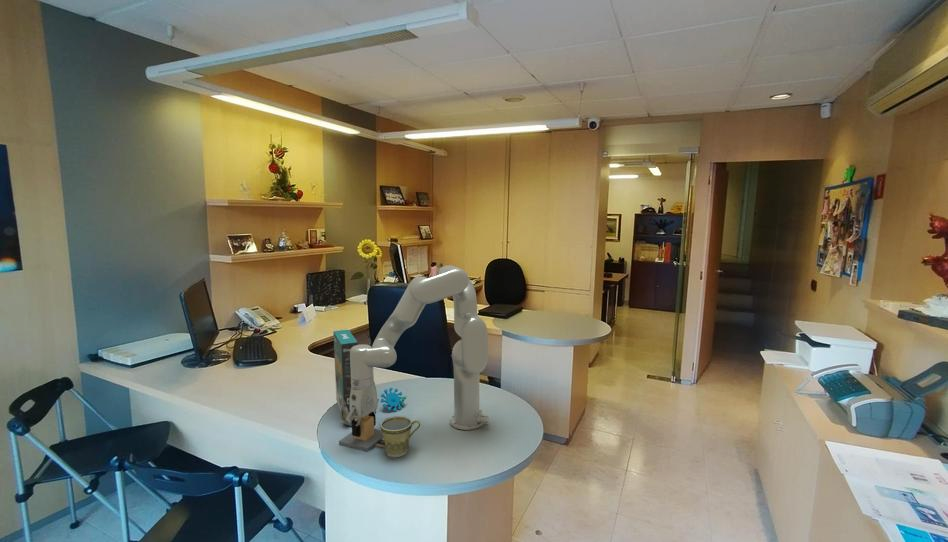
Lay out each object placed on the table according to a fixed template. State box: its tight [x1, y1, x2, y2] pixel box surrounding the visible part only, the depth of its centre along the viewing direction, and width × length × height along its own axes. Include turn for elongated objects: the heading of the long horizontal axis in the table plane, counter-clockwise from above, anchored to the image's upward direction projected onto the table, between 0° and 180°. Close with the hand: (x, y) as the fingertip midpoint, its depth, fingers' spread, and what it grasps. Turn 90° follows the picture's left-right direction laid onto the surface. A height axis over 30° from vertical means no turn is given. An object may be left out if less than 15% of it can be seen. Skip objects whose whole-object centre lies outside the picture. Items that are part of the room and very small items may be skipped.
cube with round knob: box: [354, 415, 375, 441], centre depth 146 cm, size 5×5×8 cm
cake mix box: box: [333, 329, 359, 416], centre depth 170 cm, size 22×6×30 cm, turn 26°
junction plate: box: [338, 428, 386, 452], centre depth 145 cm, size 16×12×6 cm
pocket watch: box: [340, 400, 356, 427], centre depth 157 cm, size 8×8×10 cm
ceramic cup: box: [380, 415, 421, 459], centre depth 138 cm, size 13×10×10 cm
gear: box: [380, 387, 408, 413], centre depth 172 cm, size 11×6×10 cm
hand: (364, 430), depth 146 cm, fingers open, 7 cm apart
